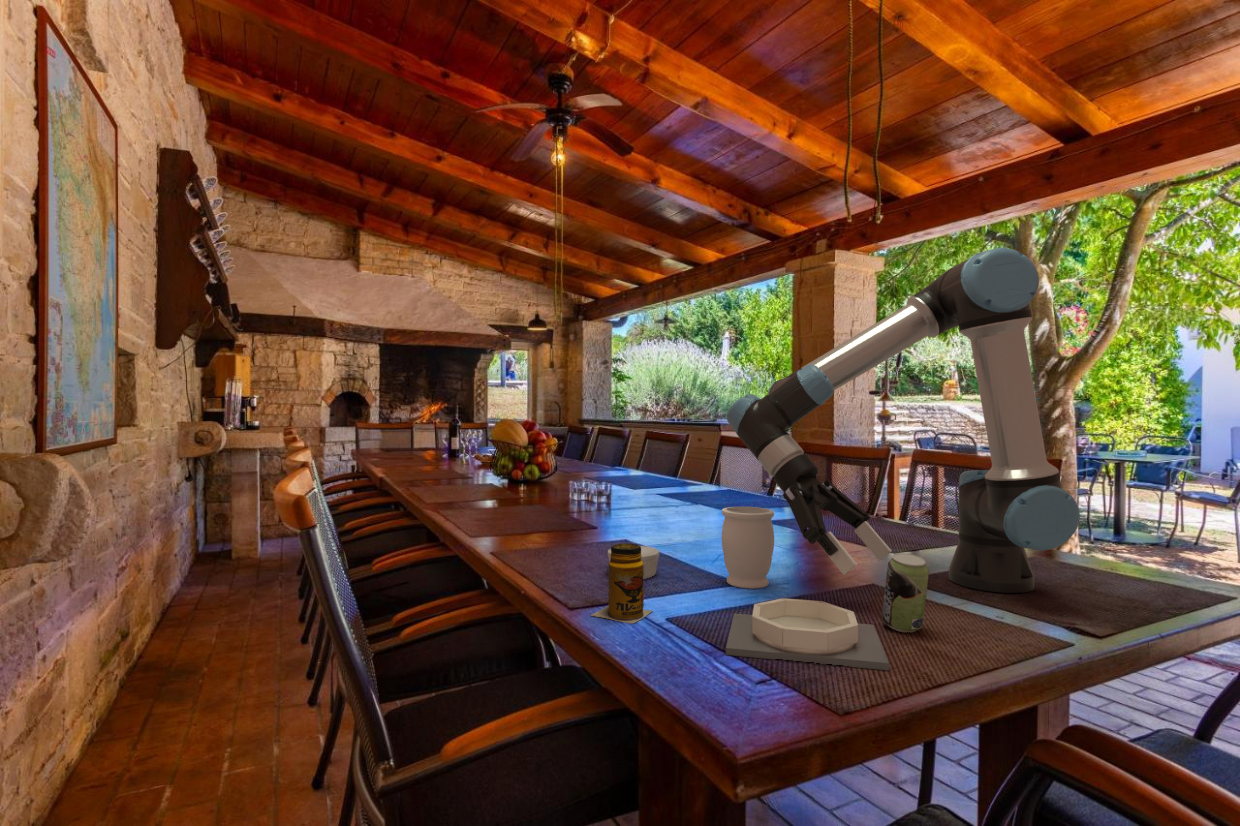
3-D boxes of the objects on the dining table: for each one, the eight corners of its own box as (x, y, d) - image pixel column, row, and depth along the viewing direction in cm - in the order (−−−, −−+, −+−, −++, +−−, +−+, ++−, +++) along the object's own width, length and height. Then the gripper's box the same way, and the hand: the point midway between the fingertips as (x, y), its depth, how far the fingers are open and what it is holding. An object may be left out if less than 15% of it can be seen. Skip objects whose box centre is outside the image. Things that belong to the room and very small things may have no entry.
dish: (850, 623, 103) (850, 603, 103) (861, 659, 88) (861, 635, 88) (755, 616, 107) (755, 596, 107) (750, 648, 92) (750, 626, 92)
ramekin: (636, 565, 145) (636, 542, 145) (670, 576, 136) (670, 551, 136) (596, 574, 138) (596, 549, 138) (630, 585, 129) (630, 559, 129)
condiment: (633, 624, 106) (634, 551, 105) (589, 616, 110) (590, 546, 110) (653, 612, 112) (653, 543, 112) (610, 604, 116) (611, 538, 116)
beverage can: (902, 620, 108) (902, 549, 108) (938, 634, 101) (938, 558, 101) (872, 624, 106) (873, 552, 105) (907, 639, 99) (908, 562, 99)
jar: (711, 580, 133) (711, 507, 133) (752, 574, 137) (752, 504, 137) (742, 593, 123) (742, 515, 123) (785, 587, 127) (785, 512, 127)
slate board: (873, 630, 103) (873, 624, 103) (889, 670, 87) (889, 663, 87) (734, 619, 108) (734, 613, 108) (725, 654, 93) (725, 647, 93)
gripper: (809, 474, 128) (883, 562, 117) (737, 484, 110) (817, 590, 100) (834, 449, 124) (913, 538, 114) (764, 455, 106) (851, 562, 96)
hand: (869, 562), depth 107 cm, fingers open, 13 cm apart
